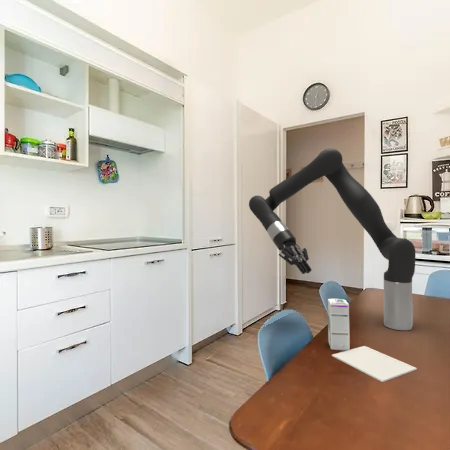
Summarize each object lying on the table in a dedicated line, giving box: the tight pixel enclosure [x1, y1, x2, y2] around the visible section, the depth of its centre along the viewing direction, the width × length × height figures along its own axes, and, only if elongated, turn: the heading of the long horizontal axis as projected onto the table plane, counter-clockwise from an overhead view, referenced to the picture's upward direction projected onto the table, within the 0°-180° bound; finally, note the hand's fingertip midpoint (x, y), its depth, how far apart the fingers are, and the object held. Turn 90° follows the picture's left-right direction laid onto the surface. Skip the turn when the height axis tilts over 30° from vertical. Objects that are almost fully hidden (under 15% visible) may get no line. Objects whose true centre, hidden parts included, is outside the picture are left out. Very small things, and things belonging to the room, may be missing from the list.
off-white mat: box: [331, 345, 418, 383], centre depth 83 cm, size 14×16×1 cm
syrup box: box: [327, 298, 351, 352], centre depth 93 cm, size 6×6×14 cm
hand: (307, 272), depth 103 cm, fingers closed
